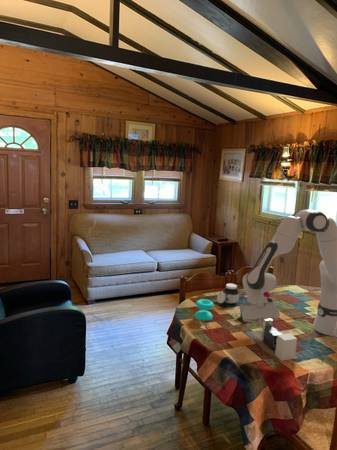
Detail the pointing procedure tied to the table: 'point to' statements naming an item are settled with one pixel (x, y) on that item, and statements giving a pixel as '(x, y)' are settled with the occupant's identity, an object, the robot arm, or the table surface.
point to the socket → (286, 346)
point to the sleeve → (270, 337)
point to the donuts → (202, 313)
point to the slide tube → (267, 324)
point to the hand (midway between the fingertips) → (265, 328)
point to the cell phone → (204, 327)
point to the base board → (259, 340)
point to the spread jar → (229, 294)
